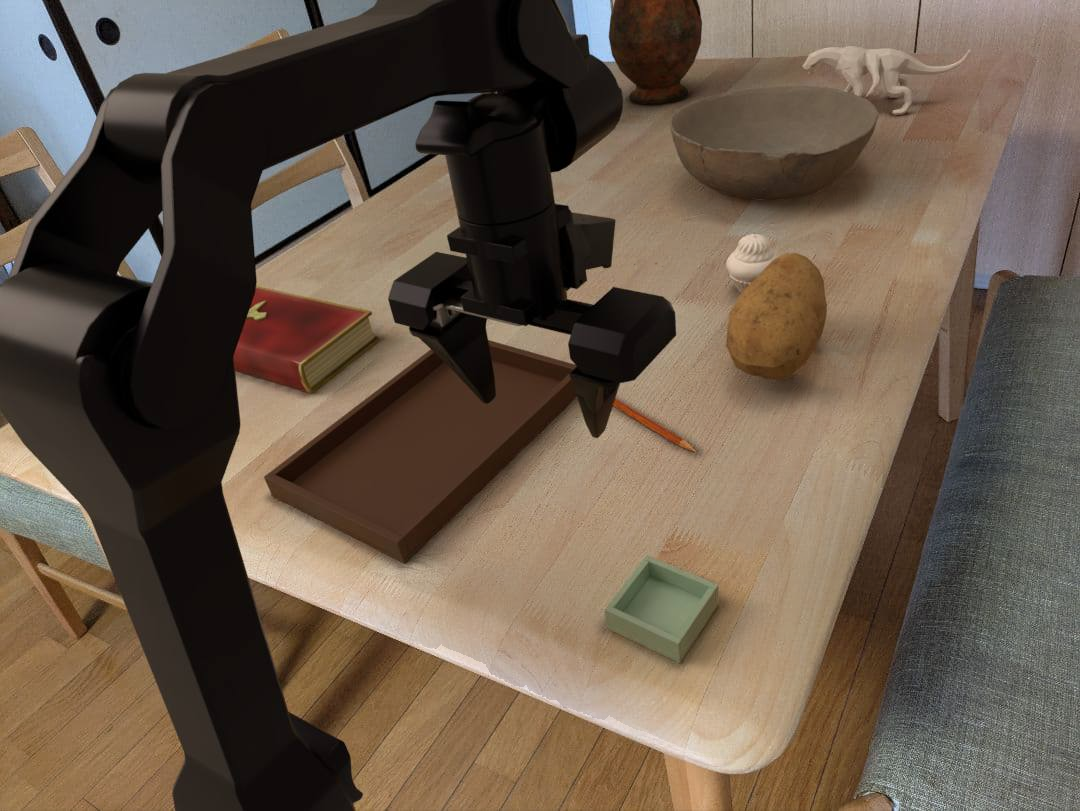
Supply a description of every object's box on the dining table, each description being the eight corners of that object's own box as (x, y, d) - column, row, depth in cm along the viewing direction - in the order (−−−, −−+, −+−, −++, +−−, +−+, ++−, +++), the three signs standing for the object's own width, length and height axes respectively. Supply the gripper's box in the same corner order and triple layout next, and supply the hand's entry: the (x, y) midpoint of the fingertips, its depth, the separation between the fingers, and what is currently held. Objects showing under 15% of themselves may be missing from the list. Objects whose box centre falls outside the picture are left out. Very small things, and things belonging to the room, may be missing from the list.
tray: (404, 563, 70) (397, 542, 68) (271, 496, 79) (263, 476, 78) (587, 387, 86) (584, 367, 85) (459, 348, 96) (455, 330, 94)
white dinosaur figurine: (800, 99, 146) (802, 39, 140) (957, 89, 139) (967, 26, 133) (800, 123, 137) (802, 60, 131) (968, 114, 130) (979, 47, 124)
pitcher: (624, 85, 167) (611, -87, 150) (733, 79, 160) (732, -101, 143) (603, 113, 155) (586, -70, 137) (720, 109, 148) (718, -85, 130)
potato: (706, 394, 82) (703, 312, 77) (760, 315, 92) (761, 238, 87) (793, 413, 78) (797, 328, 73) (840, 328, 88) (847, 248, 83)
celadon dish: (679, 663, 58) (678, 643, 57) (606, 628, 61) (604, 609, 60) (719, 604, 62) (718, 584, 61) (648, 574, 65) (646, 554, 64)
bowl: (652, 220, 116) (648, 149, 110) (694, 145, 136) (692, 82, 130) (865, 225, 106) (872, 148, 100) (876, 144, 126) (883, 75, 120)
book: (309, 395, 92) (297, 364, 90) (188, 359, 103) (175, 330, 100) (379, 339, 100) (370, 309, 97) (261, 310, 110) (249, 282, 108)
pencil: (575, 377, 88) (574, 372, 88) (699, 452, 76) (699, 446, 75) (569, 380, 88) (568, 375, 87) (693, 456, 75) (692, 451, 75)
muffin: (719, 283, 99) (718, 229, 95) (768, 273, 100) (770, 218, 95) (737, 308, 94) (737, 252, 90) (789, 297, 95) (792, 240, 90)
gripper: (714, 167, 49) (717, 385, 58) (467, 142, 59) (503, 331, 68) (617, 251, 42) (638, 483, 51) (356, 206, 52) (413, 408, 61)
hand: (542, 416), depth 58 cm, fingers open, 9 cm apart
